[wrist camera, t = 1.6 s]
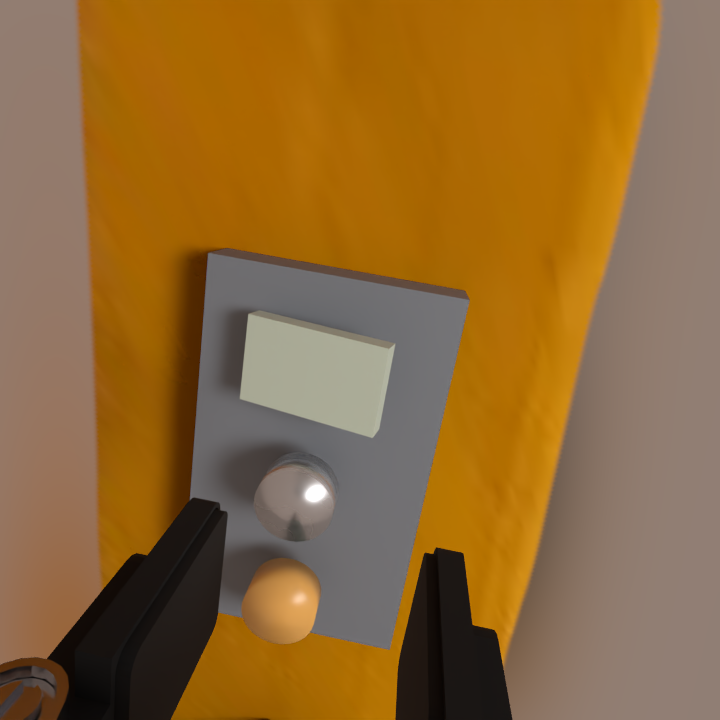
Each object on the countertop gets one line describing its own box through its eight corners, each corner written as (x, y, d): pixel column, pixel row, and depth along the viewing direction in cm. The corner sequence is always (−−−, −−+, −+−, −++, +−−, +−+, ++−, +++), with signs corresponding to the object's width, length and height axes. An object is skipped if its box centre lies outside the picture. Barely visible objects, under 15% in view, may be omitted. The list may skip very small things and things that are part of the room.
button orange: (256, 551, 27) (245, 575, 25) (325, 566, 27) (319, 591, 25) (249, 608, 28) (238, 635, 26) (316, 622, 28) (309, 650, 26)
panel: (227, 248, 27) (199, 254, 23) (465, 290, 26) (471, 304, 23) (199, 574, 33) (174, 617, 29) (391, 616, 32) (388, 664, 29)
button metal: (269, 445, 25) (258, 463, 23) (344, 460, 25) (338, 480, 23) (261, 510, 26) (250, 532, 24) (332, 525, 26) (326, 548, 24)
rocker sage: (259, 310, 24) (248, 313, 23) (395, 343, 22) (389, 348, 21) (250, 392, 25) (239, 398, 24) (379, 429, 23) (372, 438, 22)
